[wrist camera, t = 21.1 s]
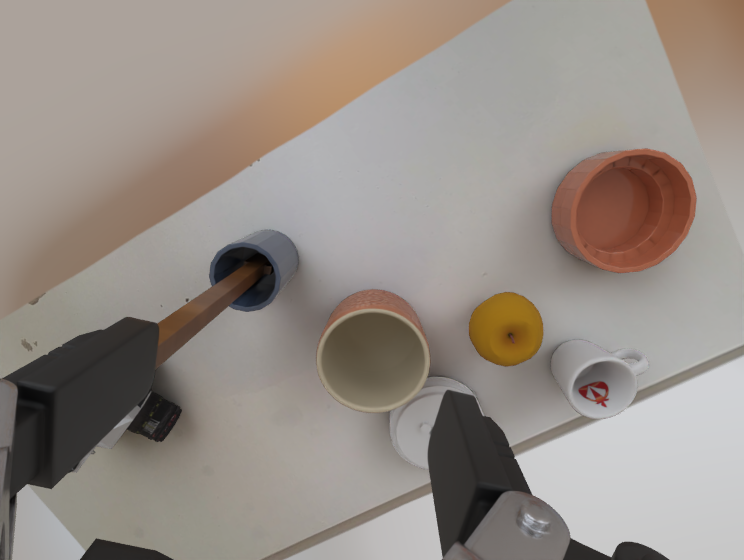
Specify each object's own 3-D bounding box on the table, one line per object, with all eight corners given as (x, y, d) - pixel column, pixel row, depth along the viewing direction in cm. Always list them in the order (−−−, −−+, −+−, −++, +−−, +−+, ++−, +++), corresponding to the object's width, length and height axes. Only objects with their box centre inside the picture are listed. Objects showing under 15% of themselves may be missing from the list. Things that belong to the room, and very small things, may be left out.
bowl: (569, 140, 49) (595, 136, 43) (676, 165, 49) (716, 164, 43) (534, 249, 52) (554, 258, 46) (635, 271, 52) (667, 283, 47)
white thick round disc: (498, 403, 57) (509, 424, 53) (445, 468, 60) (451, 494, 55) (422, 356, 56) (426, 374, 51) (372, 425, 59) (371, 448, 54)
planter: (424, 282, 53) (435, 309, 43) (418, 370, 56) (427, 416, 46) (327, 279, 53) (314, 305, 43) (327, 367, 57) (315, 412, 46)
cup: (614, 314, 54) (654, 338, 46) (630, 366, 56) (670, 398, 48) (534, 344, 55) (559, 372, 47) (552, 394, 57) (579, 429, 49)
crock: (245, 223, 52) (213, 235, 42) (303, 236, 52) (285, 251, 42) (237, 280, 54) (205, 303, 44) (293, 291, 54) (274, 317, 44)
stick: (257, 250, 52) (75, 364, 21) (282, 255, 52) (138, 376, 21) (255, 262, 52) (74, 391, 22) (280, 268, 53) (135, 404, 22)
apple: (488, 270, 53) (509, 289, 44) (541, 305, 54) (571, 331, 45) (449, 323, 55) (461, 351, 46) (500, 356, 56) (522, 389, 47)
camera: (149, 446, 62) (120, 504, 53) (77, 413, 58) (32, 469, 49) (203, 377, 59) (182, 426, 50) (130, 338, 55) (93, 383, 46)
